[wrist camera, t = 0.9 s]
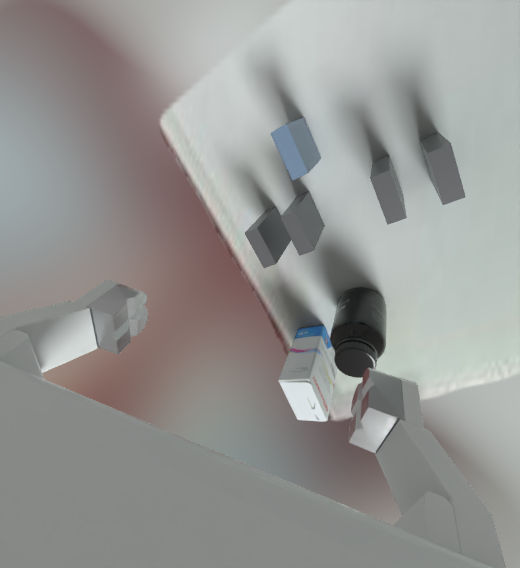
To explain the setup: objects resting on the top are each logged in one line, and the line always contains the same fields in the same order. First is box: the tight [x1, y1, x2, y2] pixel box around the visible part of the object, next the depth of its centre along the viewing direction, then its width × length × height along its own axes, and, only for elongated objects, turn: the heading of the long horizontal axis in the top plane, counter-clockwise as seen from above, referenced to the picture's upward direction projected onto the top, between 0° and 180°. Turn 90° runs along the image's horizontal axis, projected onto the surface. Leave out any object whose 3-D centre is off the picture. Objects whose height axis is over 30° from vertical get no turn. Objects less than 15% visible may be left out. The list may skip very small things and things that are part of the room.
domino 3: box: [281, 192, 325, 256], centre depth 38 cm, size 2×5×8 cm, turn 29°
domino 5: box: [420, 133, 465, 205], centre depth 31 cm, size 2×5×8 cm, turn 29°
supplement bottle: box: [330, 288, 386, 377], centre depth 42 cm, size 7×7×12 cm
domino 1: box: [245, 207, 291, 268], centre depth 41 cm, size 2×5×8 cm, turn 28°
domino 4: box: [370, 155, 407, 224], centre depth 33 cm, size 2×5×8 cm, turn 29°
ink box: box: [279, 326, 338, 421], centre depth 48 cm, size 9×5×12 cm, turn 23°
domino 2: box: [271, 117, 321, 181], centre depth 34 cm, size 2×5×8 cm, turn 29°
